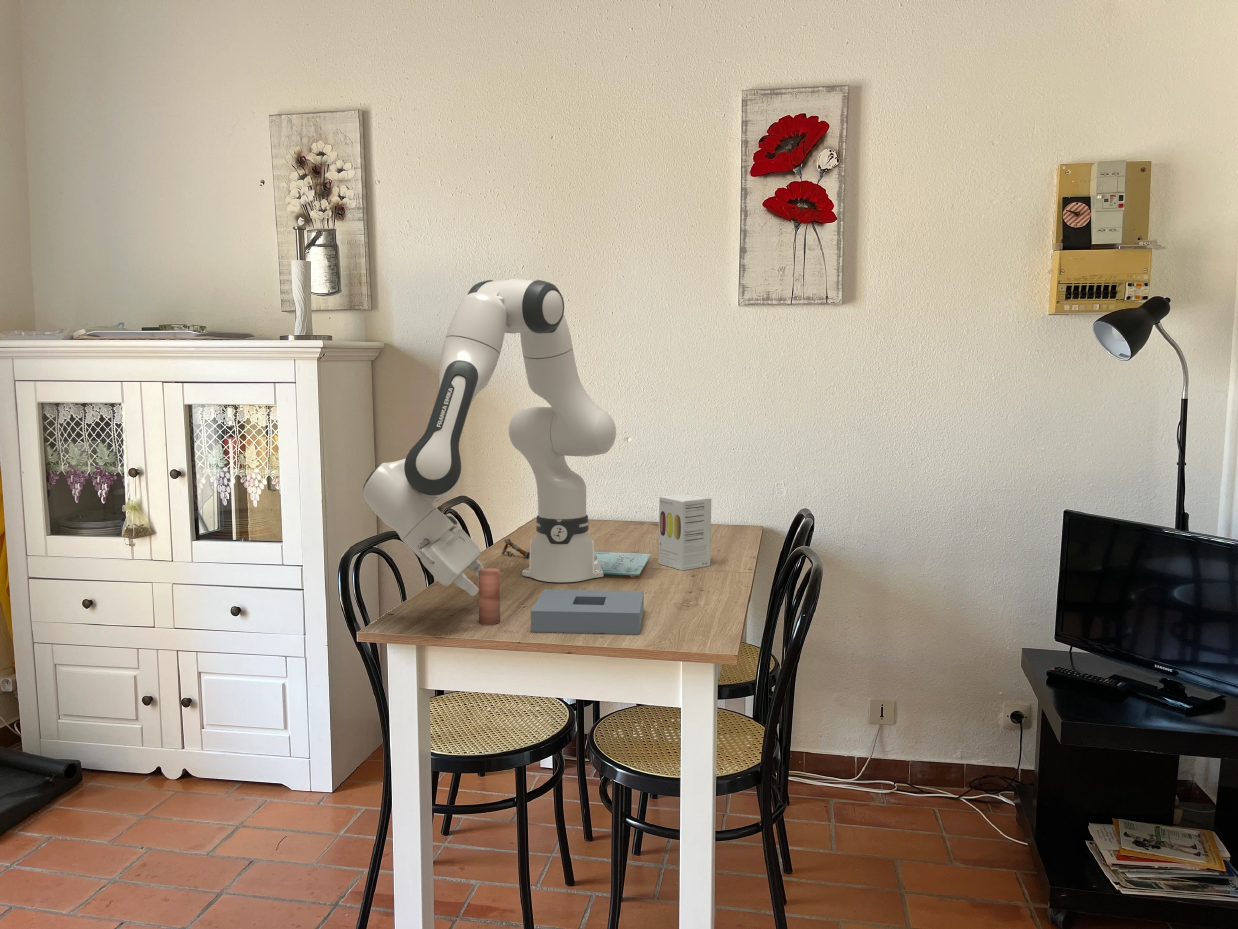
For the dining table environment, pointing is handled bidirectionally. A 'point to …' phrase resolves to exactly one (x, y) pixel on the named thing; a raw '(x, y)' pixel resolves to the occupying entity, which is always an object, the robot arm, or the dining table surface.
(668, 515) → the supplement box
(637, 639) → the dining table surface
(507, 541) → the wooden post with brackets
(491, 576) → the pin
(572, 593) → the socket block
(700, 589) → the dining table surface
